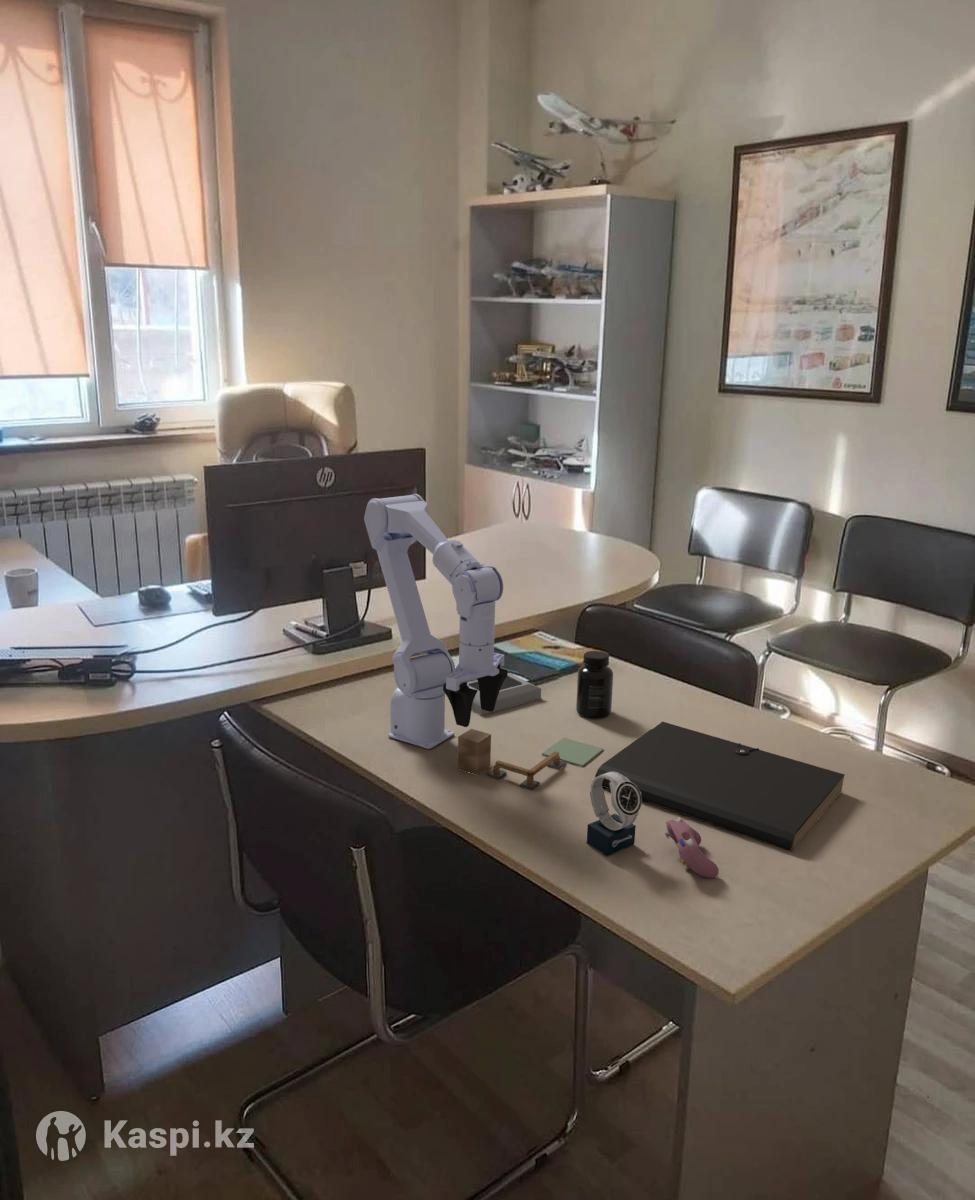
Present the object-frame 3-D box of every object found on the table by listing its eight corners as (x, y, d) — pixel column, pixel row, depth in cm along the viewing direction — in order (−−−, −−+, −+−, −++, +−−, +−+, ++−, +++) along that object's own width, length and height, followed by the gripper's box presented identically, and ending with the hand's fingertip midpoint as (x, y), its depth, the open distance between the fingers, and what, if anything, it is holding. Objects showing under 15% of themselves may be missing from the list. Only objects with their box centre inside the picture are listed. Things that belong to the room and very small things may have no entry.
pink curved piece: (673, 852, 145) (655, 815, 143) (701, 839, 144) (684, 802, 142) (692, 891, 135) (673, 851, 133) (722, 877, 135) (704, 837, 133)
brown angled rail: (486, 775, 164) (486, 761, 163) (521, 751, 173) (521, 738, 172) (532, 790, 159) (533, 776, 158) (565, 764, 168) (566, 751, 167)
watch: (616, 862, 139) (621, 792, 136) (578, 838, 145) (582, 770, 142) (644, 850, 142) (649, 781, 139) (605, 827, 148) (610, 761, 145)
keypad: (541, 683, 195) (480, 699, 187) (540, 700, 196) (480, 717, 188) (512, 668, 203) (452, 683, 194) (511, 685, 204) (452, 700, 195)
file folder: (845, 772, 160) (793, 833, 142) (842, 794, 161) (789, 858, 143) (663, 719, 179) (595, 767, 160) (661, 739, 180) (594, 790, 161)
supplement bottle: (617, 711, 191) (620, 653, 187) (601, 722, 185) (605, 663, 182) (585, 703, 194) (588, 646, 191) (569, 714, 189) (572, 655, 185)
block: (457, 769, 166) (458, 736, 164) (470, 760, 169) (471, 728, 167) (477, 775, 164) (478, 742, 162) (490, 766, 167) (491, 734, 165)
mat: (541, 754, 172) (541, 753, 171) (563, 739, 178) (563, 737, 178) (582, 766, 167) (582, 765, 167) (603, 750, 174) (603, 748, 174)
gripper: (472, 657, 152) (471, 738, 156) (520, 633, 163) (518, 709, 167) (435, 648, 155) (435, 727, 159) (485, 625, 167) (483, 699, 171)
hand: (475, 717), depth 163 cm, fingers open, 7 cm apart
